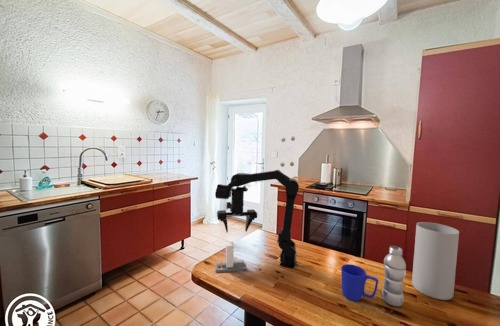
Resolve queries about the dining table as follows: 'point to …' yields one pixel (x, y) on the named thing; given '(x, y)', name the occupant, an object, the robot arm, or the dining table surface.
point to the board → (230, 268)
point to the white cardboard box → (229, 254)
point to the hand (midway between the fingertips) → (236, 231)
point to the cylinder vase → (435, 260)
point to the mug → (355, 282)
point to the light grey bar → (235, 263)
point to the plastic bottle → (394, 277)
